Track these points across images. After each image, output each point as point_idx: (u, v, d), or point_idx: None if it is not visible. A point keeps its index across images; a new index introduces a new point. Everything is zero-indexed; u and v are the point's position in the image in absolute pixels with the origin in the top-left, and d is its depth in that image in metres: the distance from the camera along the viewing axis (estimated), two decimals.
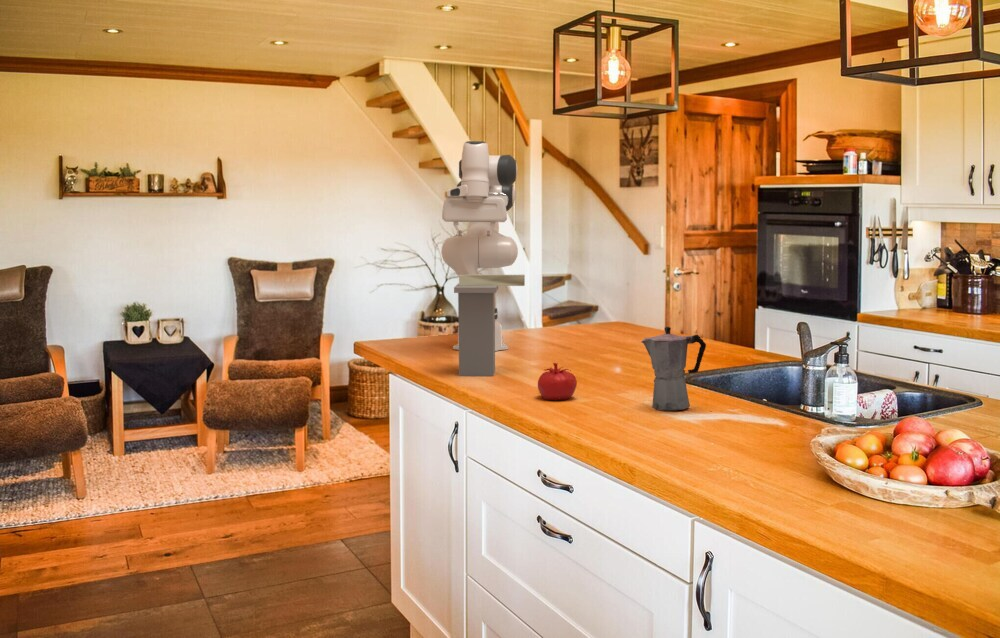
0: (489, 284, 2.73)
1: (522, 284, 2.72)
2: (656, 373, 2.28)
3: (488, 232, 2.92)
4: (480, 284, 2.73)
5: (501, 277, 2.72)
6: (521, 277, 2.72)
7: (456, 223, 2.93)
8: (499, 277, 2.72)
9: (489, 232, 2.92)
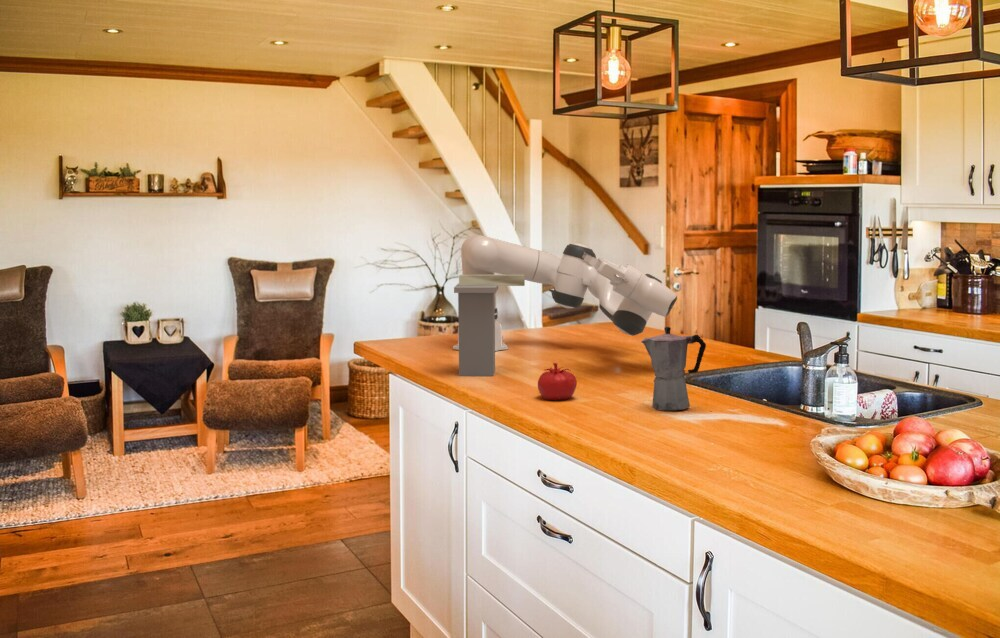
0: (489, 284, 2.73)
1: (522, 284, 2.72)
2: (656, 373, 2.28)
3: (590, 256, 2.68)
4: (480, 284, 2.73)
5: (501, 277, 2.72)
6: (521, 277, 2.72)
7: None
8: (499, 277, 2.72)
9: (590, 256, 2.67)
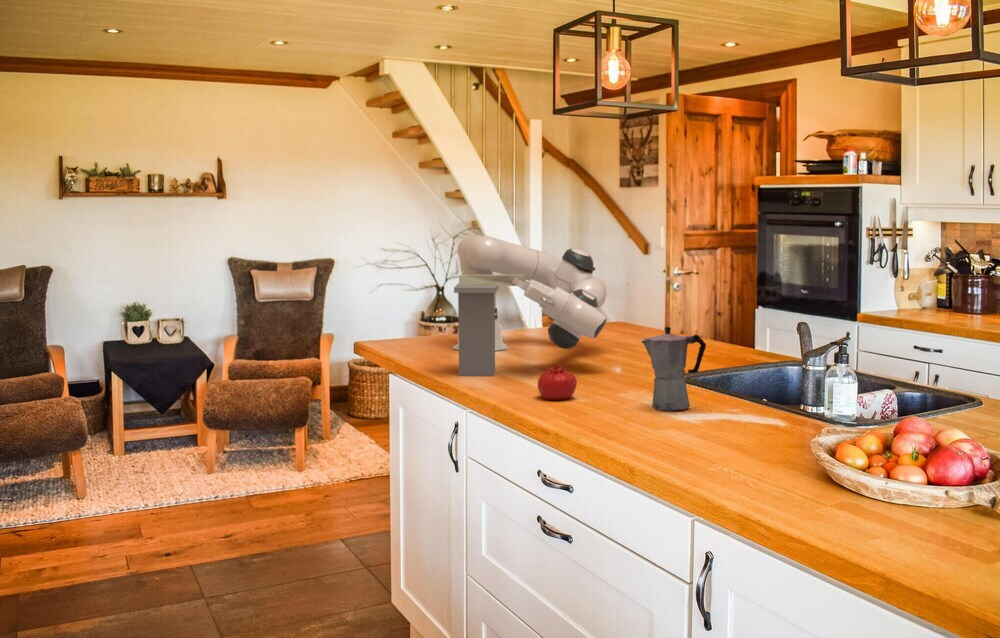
0: (489, 284, 2.73)
1: None
2: (656, 373, 2.28)
3: None
4: (480, 284, 2.73)
5: (501, 277, 2.72)
6: (521, 277, 2.72)
7: (526, 281, 2.77)
8: (499, 277, 2.72)
9: None
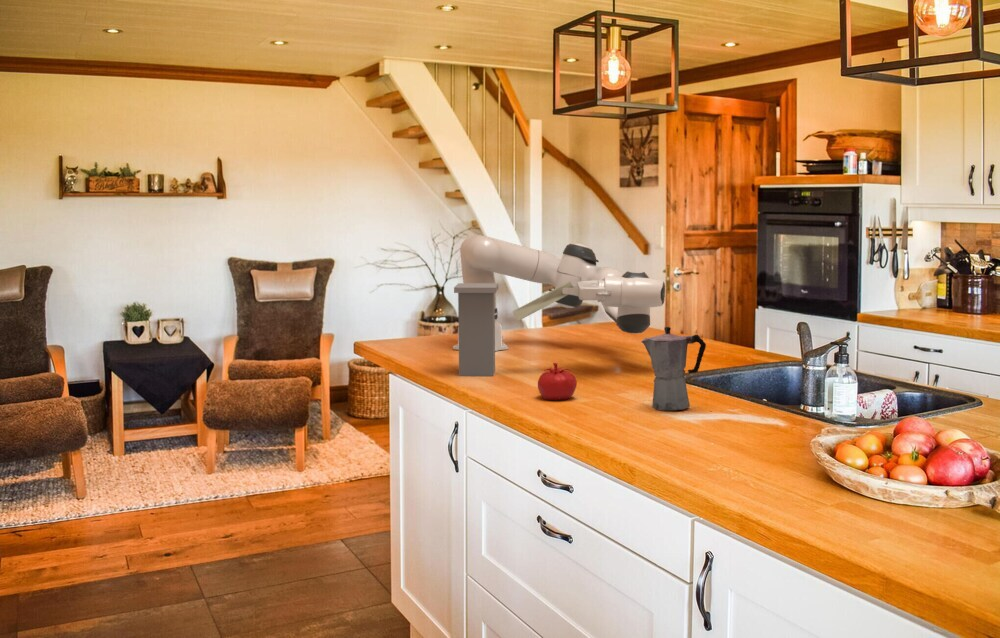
0: (543, 306, 2.73)
1: None
2: (656, 373, 2.28)
3: None
4: (535, 310, 2.73)
5: (550, 294, 2.72)
6: (568, 285, 2.72)
7: (575, 285, 2.77)
8: (549, 295, 2.72)
9: None
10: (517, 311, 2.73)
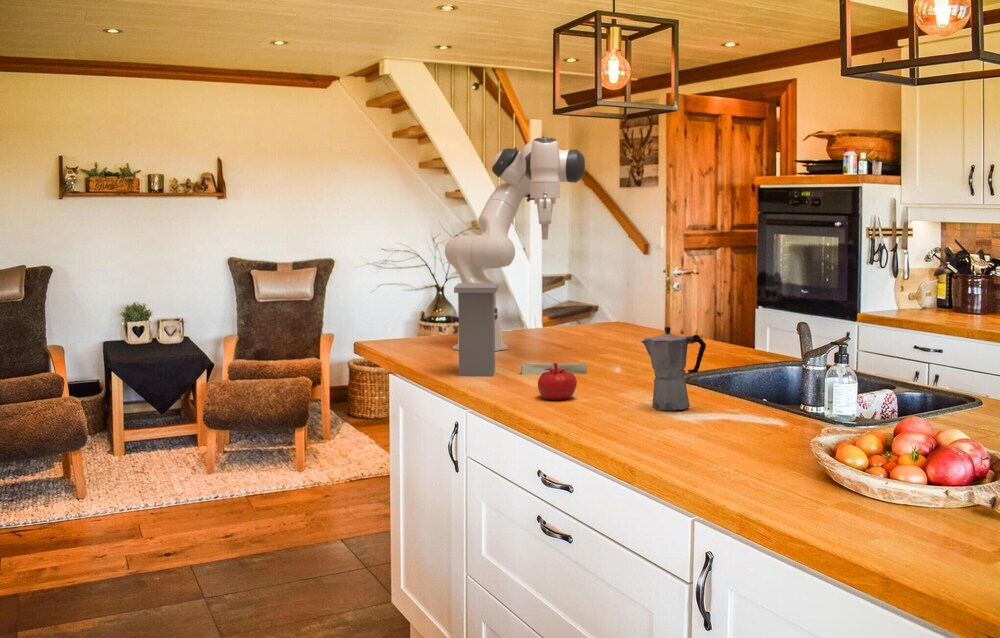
0: None
1: (584, 373, 2.76)
2: (656, 373, 2.28)
3: None
4: None
5: (564, 366, 2.75)
6: (583, 366, 2.75)
7: None
8: None
9: None
10: (526, 367, 2.74)
